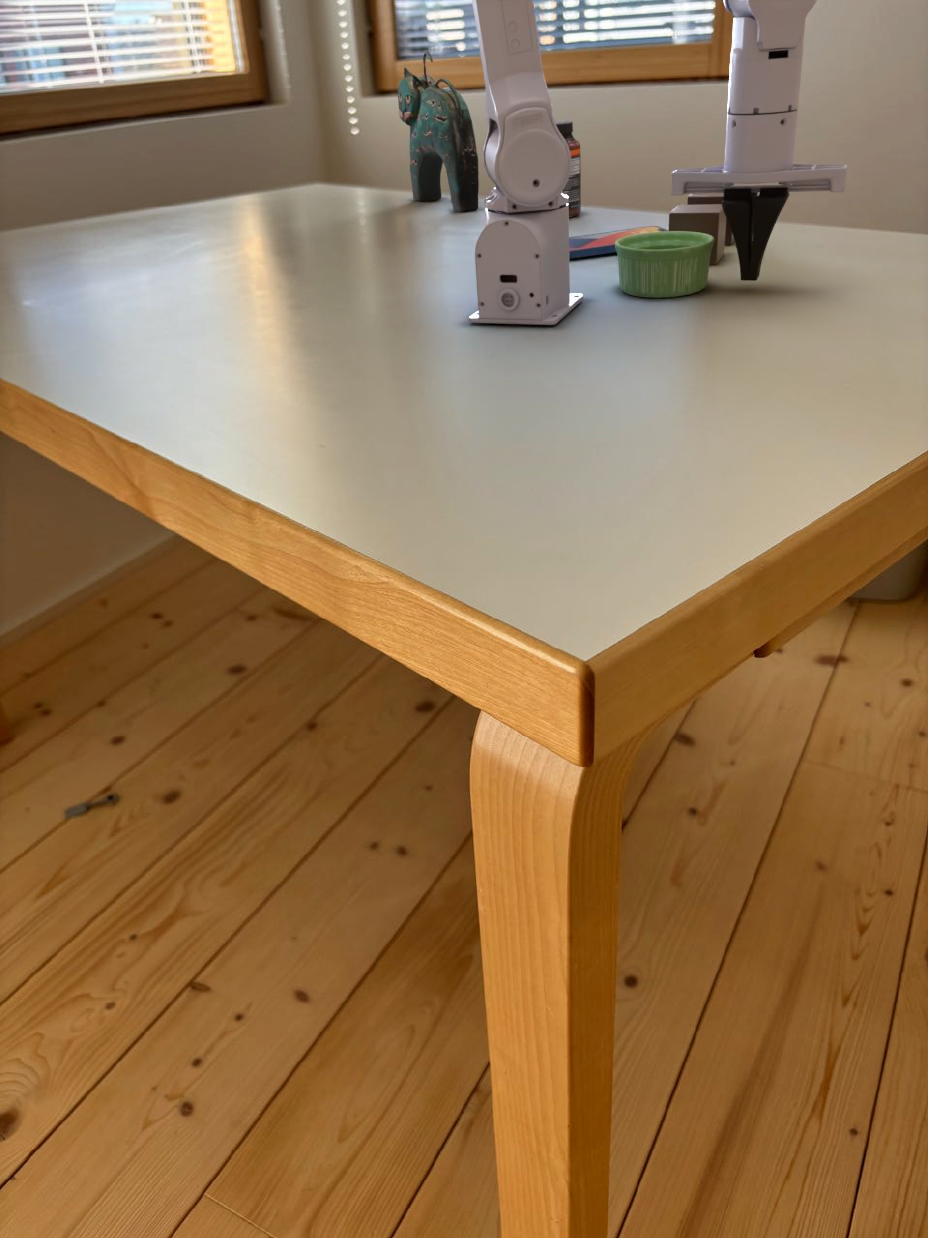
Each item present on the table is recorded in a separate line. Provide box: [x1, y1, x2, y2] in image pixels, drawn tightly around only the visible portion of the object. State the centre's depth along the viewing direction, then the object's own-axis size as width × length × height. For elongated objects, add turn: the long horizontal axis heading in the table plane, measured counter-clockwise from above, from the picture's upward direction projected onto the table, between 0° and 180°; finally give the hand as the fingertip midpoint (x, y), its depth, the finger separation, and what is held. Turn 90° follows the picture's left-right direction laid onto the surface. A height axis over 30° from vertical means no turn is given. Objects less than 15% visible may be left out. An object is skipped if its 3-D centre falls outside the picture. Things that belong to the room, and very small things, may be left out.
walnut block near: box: [668, 204, 726, 266], centre depth 103 cm, size 5×5×5 cm
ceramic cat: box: [397, 50, 480, 213], centre depth 144 cm, size 20×6×20 cm, turn 24°
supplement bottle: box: [555, 119, 582, 218], centre depth 130 cm, size 6×6×11 cm
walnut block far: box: [686, 193, 735, 246], centre depth 110 cm, size 5×5×5 cm
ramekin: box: [615, 231, 714, 299], centre depth 93 cm, size 9×9×4 cm
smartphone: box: [569, 225, 669, 260], centre depth 111 cm, size 7×15×1 cm, turn 104°
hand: (749, 278), depth 91 cm, fingers closed
